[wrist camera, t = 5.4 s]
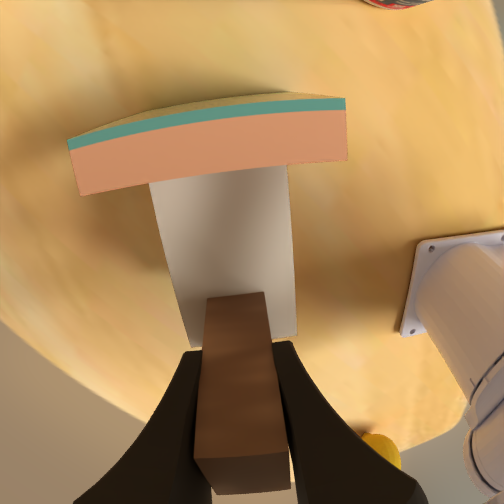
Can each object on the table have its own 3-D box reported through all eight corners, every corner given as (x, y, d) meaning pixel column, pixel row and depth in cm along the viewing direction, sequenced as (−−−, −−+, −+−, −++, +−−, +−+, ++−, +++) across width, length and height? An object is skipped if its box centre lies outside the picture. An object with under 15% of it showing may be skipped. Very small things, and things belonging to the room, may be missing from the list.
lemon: (331, 441, 30) (346, 503, 23) (370, 416, 28) (392, 482, 21) (360, 447, 32) (376, 502, 25) (397, 424, 30) (418, 481, 23)
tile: (289, 91, 14) (345, 98, 7) (291, 123, 15) (347, 160, 8) (143, 111, 14) (66, 139, 7) (149, 142, 15) (80, 196, 8)
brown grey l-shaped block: (283, 157, 12) (364, 254, 4) (295, 332, 15) (330, 482, 8) (151, 176, 12) (46, 292, 4) (193, 343, 15) (178, 494, 8)
